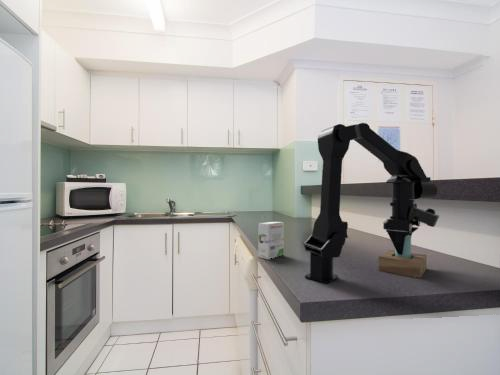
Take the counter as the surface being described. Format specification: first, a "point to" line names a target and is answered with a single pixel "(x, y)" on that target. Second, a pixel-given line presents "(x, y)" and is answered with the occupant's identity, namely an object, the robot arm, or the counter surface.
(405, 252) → the peg
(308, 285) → the counter surface
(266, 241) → the ink box
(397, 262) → the socket block
